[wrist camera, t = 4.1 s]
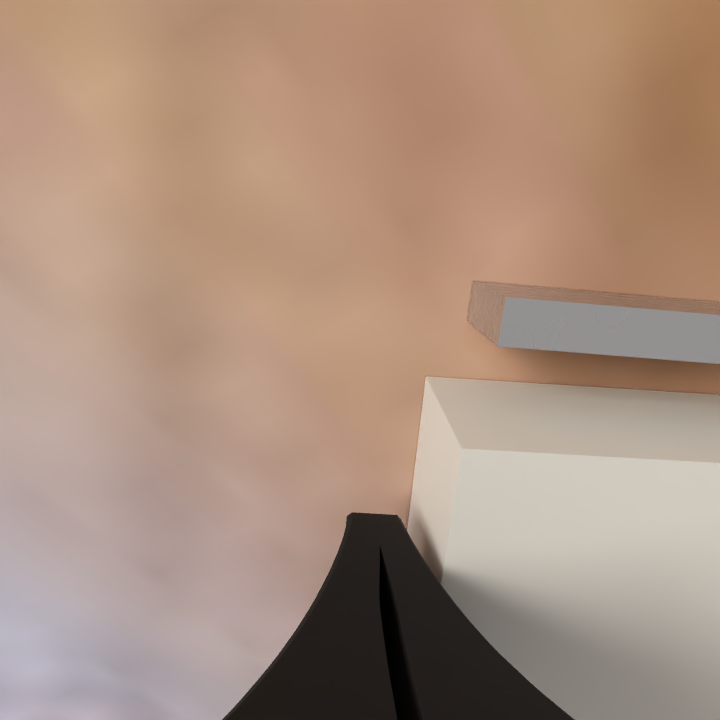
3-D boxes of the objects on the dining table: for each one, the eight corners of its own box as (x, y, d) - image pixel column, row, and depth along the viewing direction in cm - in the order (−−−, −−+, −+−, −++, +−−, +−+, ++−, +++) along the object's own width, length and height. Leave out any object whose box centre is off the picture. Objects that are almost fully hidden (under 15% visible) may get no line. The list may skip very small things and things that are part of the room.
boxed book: (764, 632, 15) (908, 775, 11) (396, 618, 14) (414, 762, 11) (859, 403, 13) (1084, 483, 9) (425, 376, 12) (462, 448, 8)
